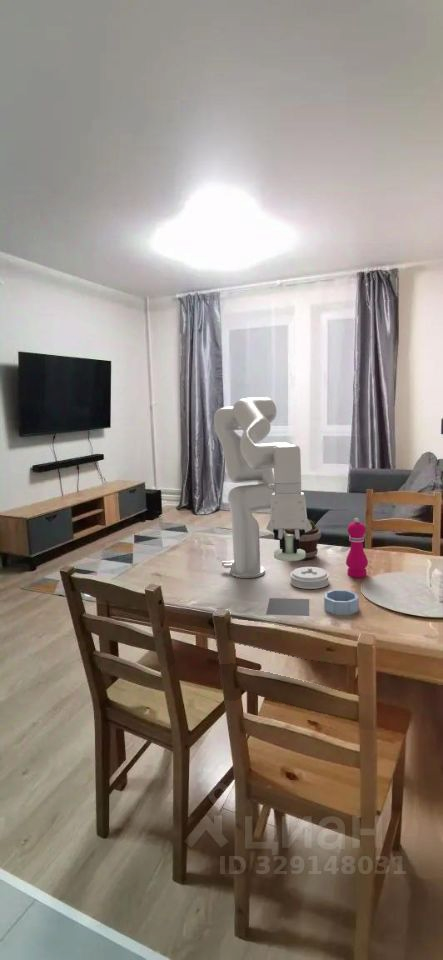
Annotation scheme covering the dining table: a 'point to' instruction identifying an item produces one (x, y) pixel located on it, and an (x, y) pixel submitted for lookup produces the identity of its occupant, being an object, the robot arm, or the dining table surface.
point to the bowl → (341, 602)
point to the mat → (288, 606)
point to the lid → (309, 577)
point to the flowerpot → (307, 540)
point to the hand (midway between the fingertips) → (289, 551)
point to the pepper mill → (356, 550)
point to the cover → (289, 550)
